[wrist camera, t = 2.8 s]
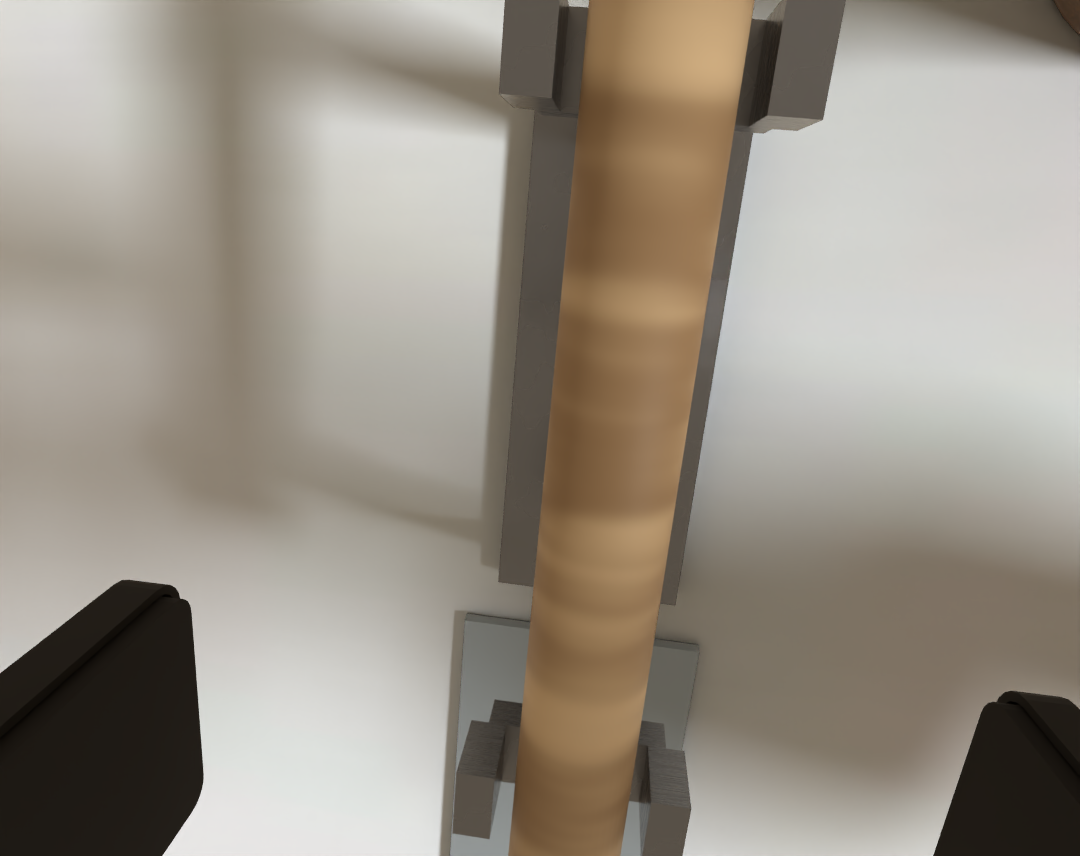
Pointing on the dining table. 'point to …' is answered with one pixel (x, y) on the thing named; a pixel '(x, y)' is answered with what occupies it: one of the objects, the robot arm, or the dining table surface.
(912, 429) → the dining table surface
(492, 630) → the slate mat
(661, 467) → the oak dowel
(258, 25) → the dining table surface
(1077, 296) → the dining table surface
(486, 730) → the cradle stands
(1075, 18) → the plant pot
